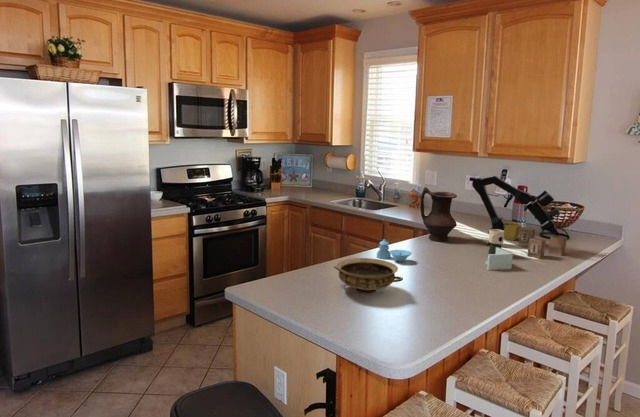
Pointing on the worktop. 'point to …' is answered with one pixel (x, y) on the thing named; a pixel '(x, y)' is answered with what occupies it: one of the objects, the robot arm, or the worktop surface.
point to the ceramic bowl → (367, 274)
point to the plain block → (557, 245)
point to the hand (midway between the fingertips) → (558, 235)
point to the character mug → (495, 239)
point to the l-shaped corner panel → (499, 260)
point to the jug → (438, 215)
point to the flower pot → (511, 231)
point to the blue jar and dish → (391, 252)
